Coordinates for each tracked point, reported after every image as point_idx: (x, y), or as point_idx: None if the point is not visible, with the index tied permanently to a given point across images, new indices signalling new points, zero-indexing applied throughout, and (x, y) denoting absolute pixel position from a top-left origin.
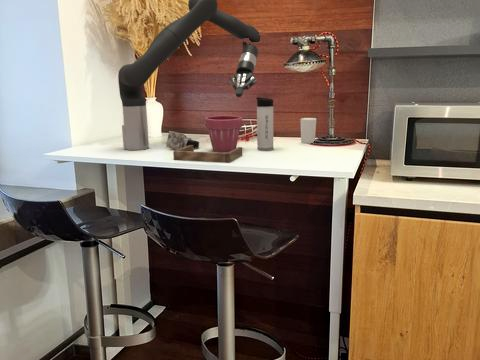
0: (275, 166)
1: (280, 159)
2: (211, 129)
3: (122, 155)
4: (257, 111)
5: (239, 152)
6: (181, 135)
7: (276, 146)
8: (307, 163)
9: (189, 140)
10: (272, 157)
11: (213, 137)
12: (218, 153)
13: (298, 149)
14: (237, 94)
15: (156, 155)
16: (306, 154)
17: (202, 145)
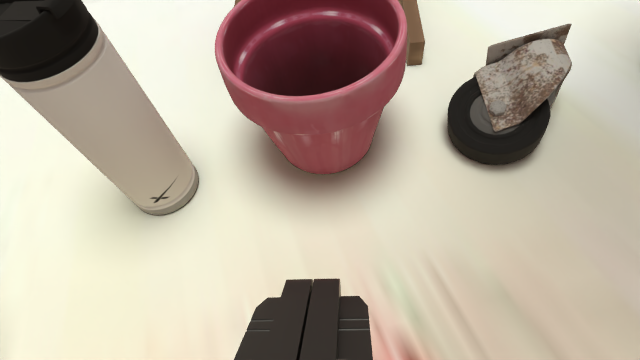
0: (128, 7)
1: None
2: (349, 22)
3: None
4: (113, 46)
5: None
6: (502, 46)
7: (122, 267)
8: None
9: (479, 90)
10: (137, 80)
11: (344, 53)
12: None
13: (34, 221)
14: (319, 282)
15: (503, 13)
16: (25, 143)
17: (478, 205)
